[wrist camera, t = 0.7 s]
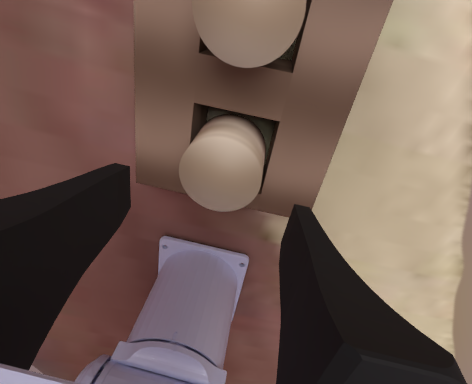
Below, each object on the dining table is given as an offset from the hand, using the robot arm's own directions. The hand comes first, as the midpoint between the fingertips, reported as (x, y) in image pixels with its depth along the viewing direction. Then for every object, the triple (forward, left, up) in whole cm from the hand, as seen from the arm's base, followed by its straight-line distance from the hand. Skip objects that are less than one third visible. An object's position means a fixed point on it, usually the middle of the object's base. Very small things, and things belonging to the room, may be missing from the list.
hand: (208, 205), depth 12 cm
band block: (+4, 0, -9) cm, 10 cm away
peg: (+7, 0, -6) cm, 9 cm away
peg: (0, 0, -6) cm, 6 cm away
